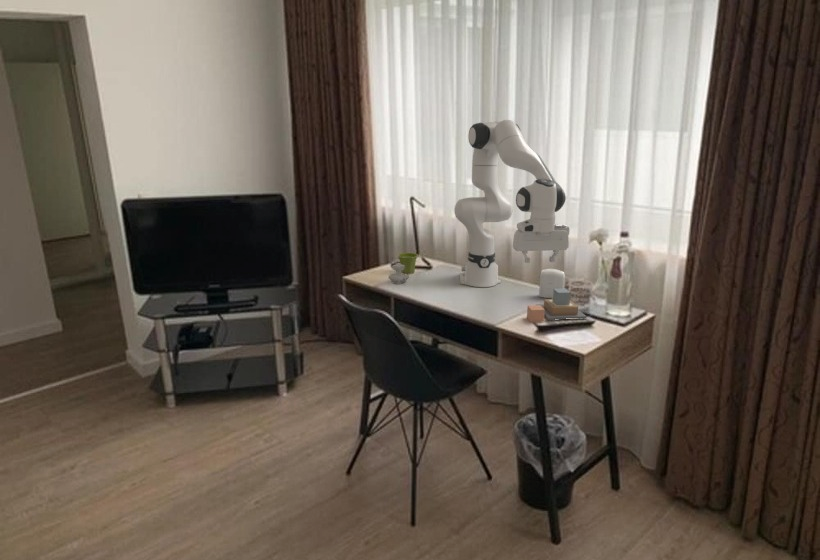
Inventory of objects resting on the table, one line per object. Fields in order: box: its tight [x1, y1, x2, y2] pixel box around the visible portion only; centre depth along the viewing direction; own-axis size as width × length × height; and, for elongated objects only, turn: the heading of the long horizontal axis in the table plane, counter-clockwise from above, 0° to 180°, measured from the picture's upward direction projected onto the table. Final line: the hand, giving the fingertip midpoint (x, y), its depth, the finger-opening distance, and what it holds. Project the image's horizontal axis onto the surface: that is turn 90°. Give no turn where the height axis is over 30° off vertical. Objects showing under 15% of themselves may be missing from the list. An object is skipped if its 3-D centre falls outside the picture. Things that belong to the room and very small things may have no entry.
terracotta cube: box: [526, 304, 545, 323], centre depth 226 cm, size 5×5×5 cm
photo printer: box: [538, 268, 566, 299], centre depth 250 cm, size 10×4×12 cm, turn 66°
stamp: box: [388, 263, 410, 285], centre depth 270 cm, size 9×7×8 cm
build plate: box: [537, 298, 587, 321], centre depth 233 cm, size 15×15×4 cm
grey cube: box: [553, 287, 571, 305], centre depth 232 cm, size 5×5×5 cm
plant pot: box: [397, 252, 419, 275], centre depth 285 cm, size 9×9×9 cm
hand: (539, 262), depth 220 cm, fingers open, 8 cm apart
